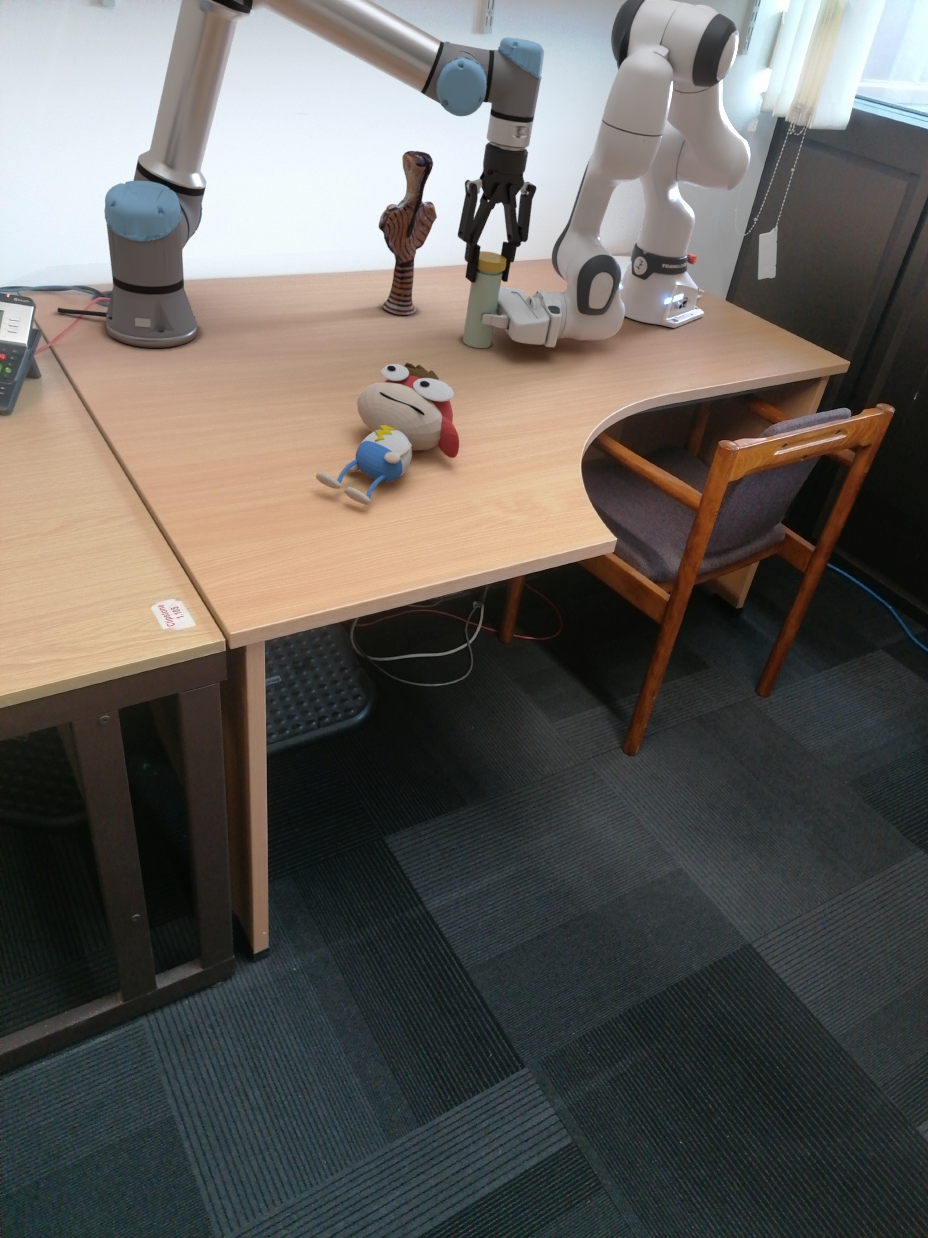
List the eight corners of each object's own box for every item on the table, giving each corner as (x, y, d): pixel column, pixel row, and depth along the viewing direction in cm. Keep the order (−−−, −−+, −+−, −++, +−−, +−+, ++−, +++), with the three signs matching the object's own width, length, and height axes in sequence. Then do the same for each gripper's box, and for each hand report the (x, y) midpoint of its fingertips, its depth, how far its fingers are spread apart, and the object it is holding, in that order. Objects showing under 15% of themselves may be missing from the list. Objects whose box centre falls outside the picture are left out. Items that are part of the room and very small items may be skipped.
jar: (457, 337, 176) (469, 257, 167) (481, 335, 179) (494, 256, 169) (471, 349, 173) (483, 267, 163) (495, 347, 175) (509, 266, 166)
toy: (278, 428, 121) (396, 343, 140) (277, 485, 128) (389, 398, 148) (391, 486, 117) (497, 391, 136) (384, 542, 124) (485, 444, 143)
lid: (512, 270, 167) (513, 261, 165) (486, 273, 163) (488, 263, 162) (490, 259, 170) (492, 249, 169) (464, 262, 166) (466, 252, 165)
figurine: (408, 296, 190) (424, 141, 171) (437, 307, 187) (456, 151, 168) (363, 310, 180) (375, 147, 161) (392, 322, 177) (407, 158, 158)
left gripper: (468, 148, 147) (449, 287, 161) (565, 153, 155) (539, 285, 170) (448, 136, 152) (432, 273, 166) (543, 142, 160) (520, 271, 175)
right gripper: (531, 280, 181) (466, 275, 177) (563, 318, 166) (493, 315, 162) (525, 310, 185) (462, 307, 181) (556, 351, 170) (488, 348, 166)
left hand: (486, 279), depth 168 cm, fingers closed on lid, 6 cm apart
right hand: (477, 311), depth 172 cm, fingers closed on jar, 5 cm apart
